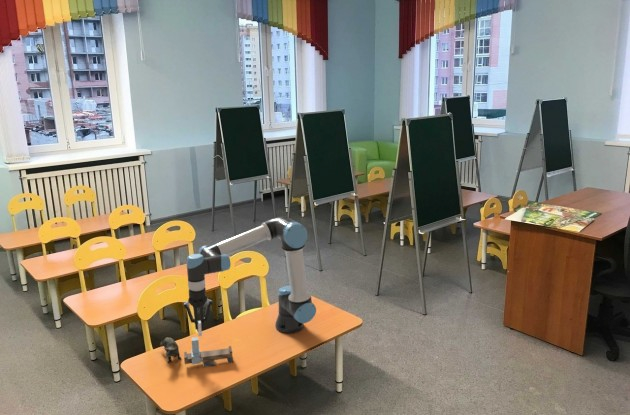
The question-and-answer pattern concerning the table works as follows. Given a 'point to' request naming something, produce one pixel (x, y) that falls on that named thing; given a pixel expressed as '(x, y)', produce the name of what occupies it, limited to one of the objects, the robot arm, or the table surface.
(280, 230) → the robot arm
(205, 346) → the table surface
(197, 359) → the rider
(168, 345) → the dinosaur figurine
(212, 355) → the beam
